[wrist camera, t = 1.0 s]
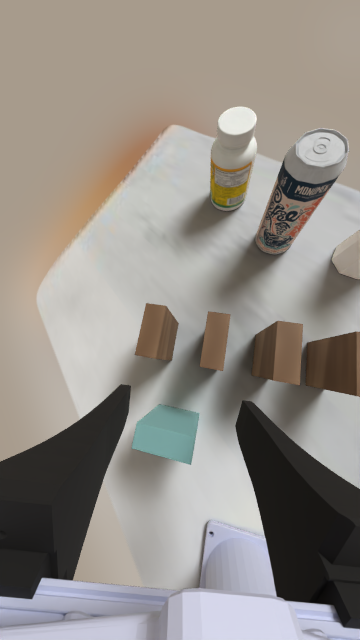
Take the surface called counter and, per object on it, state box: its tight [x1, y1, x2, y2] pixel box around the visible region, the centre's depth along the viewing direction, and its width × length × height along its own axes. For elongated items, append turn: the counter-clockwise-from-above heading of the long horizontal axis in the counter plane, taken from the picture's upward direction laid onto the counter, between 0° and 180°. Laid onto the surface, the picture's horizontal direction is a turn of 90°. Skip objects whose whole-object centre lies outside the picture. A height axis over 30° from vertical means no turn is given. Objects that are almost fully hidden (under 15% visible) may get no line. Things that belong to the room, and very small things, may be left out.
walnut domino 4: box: [306, 332, 360, 397], centre depth 19 cm, size 2×5×8 cm, turn 170°
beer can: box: [256, 128, 349, 254], centre depth 21 cm, size 5×5×12 cm
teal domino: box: [132, 404, 199, 465], centre depth 20 cm, size 2×5×8 cm, turn 80°
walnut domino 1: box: [135, 303, 178, 361], centre depth 22 cm, size 2×5×8 cm, turn 170°
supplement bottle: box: [210, 107, 257, 211], centre depth 25 cm, size 5×5×10 cm
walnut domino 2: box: [200, 312, 230, 371], centre depth 21 cm, size 2×5×8 cm, turn 170°
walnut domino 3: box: [252, 321, 303, 385], centre depth 20 cm, size 2×5×8 cm, turn 170°
